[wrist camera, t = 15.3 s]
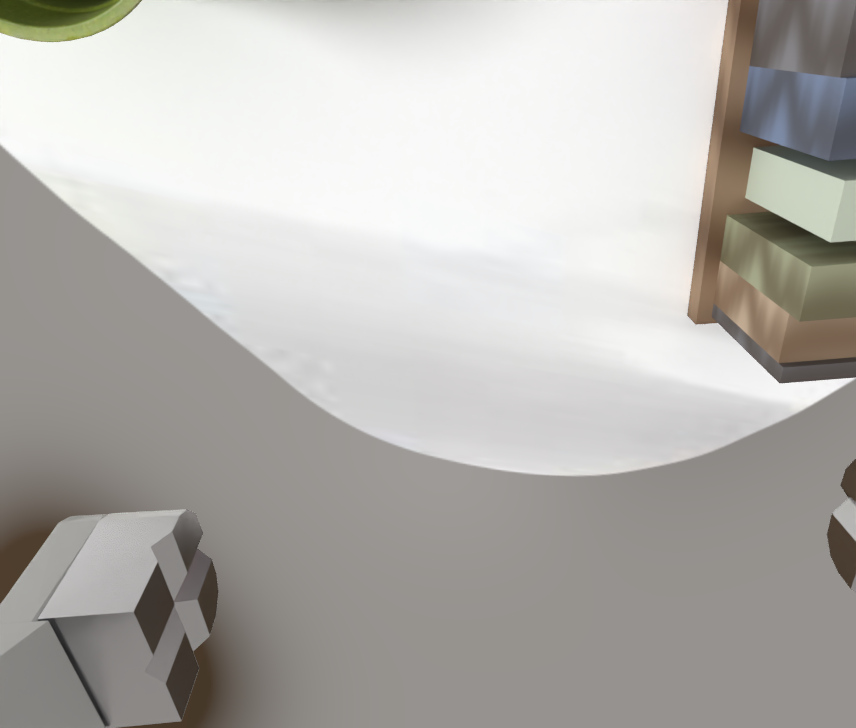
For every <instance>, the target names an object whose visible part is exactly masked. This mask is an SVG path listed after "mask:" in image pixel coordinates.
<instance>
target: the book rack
mask: <svg viewBox="0 0 856 728" xmlns="http://www.w3.org/2000/svg"><path fill="white" fill-rule="evenodd" d="M779 145H782V146H785V147H788V148H791V149H794V150H797V151H800V152H803V153H806V154H809V155H812V156H815V157H818V158H821V159H824V160H827V161H834V160H846V159H856V0H729V2H728V9H727V17H726V24H725V32H724V40H723V47H722V55H721V63H720V70H719V78H718V86H717V93H716V101H715V109H714V116H713V124H712V132H711V139H710V147H709V154H708V162H707V170H706V177H705V185H704V193H703V200H702V208H701V216H700V223H699V231H698V239H697V246H696V254H695V261H694V269H693V277H692V284H691V292H690V300H689V307H688V315H687V316H688V317H689V318H690V319H691V320H692V321H693V322H694V323H695V324H708V323H719V324H720V325H721V326H722V327H723V328H724V329H725V330H726V331H727V332H728V333H729V334H730V335H731V336H732V337H733V338H734V339H735V340H736V341H737V342H738V343H739V344H740V345H741V346H742V347H743V348H744V349H745V350H746V351H747V352H748V353H749V354H750V355H751V356H752V357H753V358H754V359H755V360H756V361H757V362H758V363H759V364H760V365H762V366H763V367H764V368H765V369H766V370H767V371H768V372H769V373H770V374H771V375H772V376H773V377H774V378H775V379H776V380H777V381H778V382H779V383H791V382H803V381H816V380H828V379H841V378H853V377H856V241H844V242H831V243H830V242H828V241H826V240H825V239H823V238H821V237H819V236H817V235H815V234H813V233H811V232H809V231H807V230H805V229H804V228H802V227H800V226H798V225H796V224H794V223H792V222H790V221H788V220H786V219H785V218H783V217H781V216H779V215H777V214H775V213H773V212H771V211H769V210H767V209H765V208H764V207H762V206H760V205H758V204H756V203H754V202H752V201H750V200H748V199H746V198H745V196H746V190H747V184H748V178H749V172H750V166H751V160H752V154H753V148H754V147H766V146H779Z"/></svg>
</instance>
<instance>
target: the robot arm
mask: <svg viewBox="0 0 856 728" xmlns="http://www.w3.org/2000/svg"><path fill="white" fill-rule="evenodd" d="M841 487H842V489H843V490H844V492H845V493H846V495H847V496H848V499H847V500H846V501H845V502H844V503H843V504H842V505H841V506H840V507H838V508H837V509H836V510H835V511H834V512H833V513H832V515H831V519H830V524H829V528H828V532H827V538H828V544H829V549H830V556H831V558H832V560H833V562H834V564H835V567H836V569H837V571H838V573H839V574H840V575H841V577H842V578H843V579H844V581H845V582H846V583H847V585H848V586H849V587H850V589H851V590H853V591H855V592H856V459H855V460H854V461H853V462H852V463H851V464H850V465H849V466H848V467H847V468H846V469H845V473H844V476H843V479H842V482H841ZM202 535H203V531H202V529H201V526H200V524H199V521H198V518H197V516H196V514H195V513H194V512H192V511H189V510H187V509H186V510H167V511H149V512H129V513H112V514H109V515H86V516H71V517H69V518H67V519H65V520H63V521H61V522H59V523H58V525H57V526H56V527H55V529H54V530H53V531H52V533H51V534H50V536H49V537H48V538H47V540H46V542H45V543H44V544H43V546H42V547H41V548H40V550H39V551H38V553H37V554H36V555H35V557H34V558H33V560H32V561H31V562H30V564H29V565H28V567H27V568H26V569H25V571H24V572H23V574H22V575H21V577H20V578H19V579H18V581H17V582H16V583H15V585H14V586H13V588H12V589H11V590H10V592H9V593H8V595H7V596H6V598H5V599H4V600H3V602H2V603H1V605H0V728H117V727H126V726H137V725H146V724H157V723H166V722H177V721H182V718H183V715H184V712H185V709H186V706H187V703H188V700H189V697H190V694H191V691H192V688H193V685H194V682H195V679H196V676H197V673H198V670H199V666H198V664H197V661H196V658H195V656H194V653H193V651H194V650H195V649H196V648H197V647H198V646H199V645H200V644H201V643H202V642H204V641H205V640H206V639H207V638H208V637H209V636H210V633H211V630H212V627H213V623H214V620H215V617H216V611H217V600H218V583H217V576H216V571H215V568H214V565H213V561H212V559H211V558H209V557H208V556H207V555H205V554H204V553H203V552H201V551H200V550H199V549H197V547H198V545H199V542H200V540H201V538H202Z"/></svg>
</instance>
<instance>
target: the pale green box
mask: <svg viewBox="0 0 856 728" xmlns="http://www.w3.org/2000/svg"><path fill="white" fill-rule="evenodd" d="M745 198H746V199H748V200H750V201H752V202H754V203H756V204H758V205H760V206H762V207H764V208H765V209H767V210H769V211H771V212H773V213H775V214H777V215H779V216H781V217H783V218H785V219H786V220H788V221H790V222H792V223H794V224H796V225H798V226H800V227H802V228H804V229H805V230H807V231H809V232H811V233H813V234H815V235H817V236H819V237H821V238H823V239H825V240H826V241H828V242H830V243H831V242H844V241H856V159H846V160H834V161H827V160H824V159H821V158H818V157H815V156H812V155H809V154H806V153H803V152H800V151H797V150H794V149H791V148H788V147H785V146H782V145H779V146H766V147H754V148H753V154H752V160H751V166H750V172H749V178H748V184H747V190H746V196H745Z"/></svg>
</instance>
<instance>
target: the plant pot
mask: <svg viewBox="0 0 856 728" xmlns="http://www.w3.org/2000/svg"><path fill="white" fill-rule="evenodd" d="M141 1H142V0H0V33H3V34H6V35H9V36H13V37H16V38H20V39H26V40H33V41H41V42H61V41H70V40H76V39H80V38H84V37H88V36H92V35H94V34H96V33H99V32H101V31H104V30H106V29H108V28H109V27H111V26H113V25H115V24H116V23H118V22H119V21H120V20H122V19H123V18H124V17H126V16H127V15H128V14H129V13H130V12H131V11H132V10H133V9H134V8H135V7H136V6H137V5H138V4H139V3H140V2H141Z"/></svg>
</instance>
